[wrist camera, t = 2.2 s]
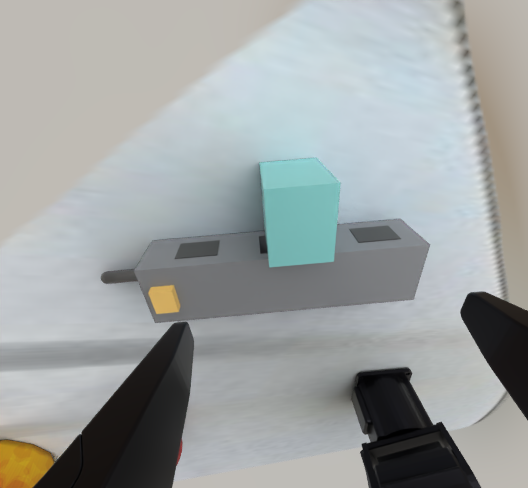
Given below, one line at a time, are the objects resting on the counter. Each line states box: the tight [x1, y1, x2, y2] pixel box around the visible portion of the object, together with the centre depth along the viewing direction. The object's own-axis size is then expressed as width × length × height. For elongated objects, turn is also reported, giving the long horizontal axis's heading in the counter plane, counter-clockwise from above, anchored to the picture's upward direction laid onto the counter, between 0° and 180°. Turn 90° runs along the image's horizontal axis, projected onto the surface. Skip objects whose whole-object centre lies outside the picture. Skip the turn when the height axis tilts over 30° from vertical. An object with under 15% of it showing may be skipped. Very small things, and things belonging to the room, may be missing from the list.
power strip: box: [101, 219, 430, 323], centre depth 20 cm, size 24×5×5 cm, turn 94°
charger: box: [259, 158, 340, 267], centre depth 18 cm, size 4×7×6 cm, turn 4°
